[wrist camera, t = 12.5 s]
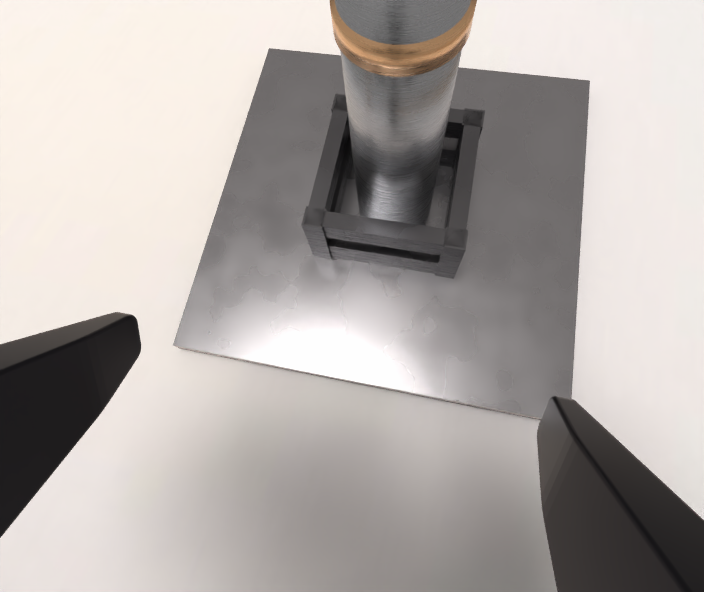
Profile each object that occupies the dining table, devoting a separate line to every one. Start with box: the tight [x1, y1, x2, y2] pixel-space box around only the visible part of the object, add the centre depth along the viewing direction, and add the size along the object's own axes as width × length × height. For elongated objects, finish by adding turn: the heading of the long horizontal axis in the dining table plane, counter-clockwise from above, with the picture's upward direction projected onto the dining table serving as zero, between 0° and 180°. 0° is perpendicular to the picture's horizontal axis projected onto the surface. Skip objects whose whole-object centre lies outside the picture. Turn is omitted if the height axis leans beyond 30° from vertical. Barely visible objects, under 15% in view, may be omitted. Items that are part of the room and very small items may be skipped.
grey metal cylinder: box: [330, 0, 477, 225], centre depth 18 cm, size 4×4×14 cm
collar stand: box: [173, 48, 590, 420], centre depth 23 cm, size 20×20×4 cm
